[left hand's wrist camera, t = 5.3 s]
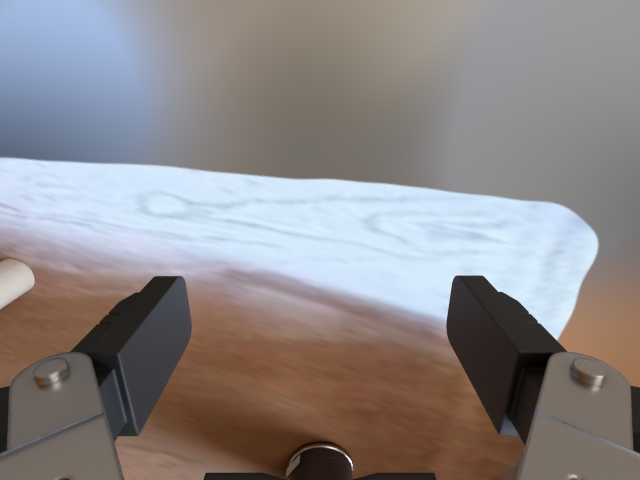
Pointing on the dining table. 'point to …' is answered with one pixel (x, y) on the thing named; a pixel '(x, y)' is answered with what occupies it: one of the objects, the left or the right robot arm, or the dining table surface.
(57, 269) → the dining table surface
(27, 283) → the white cylinder
